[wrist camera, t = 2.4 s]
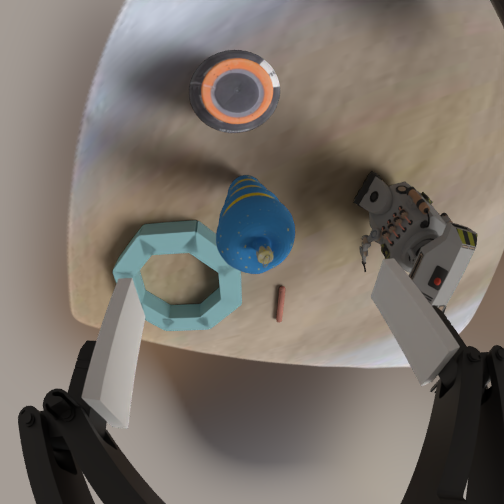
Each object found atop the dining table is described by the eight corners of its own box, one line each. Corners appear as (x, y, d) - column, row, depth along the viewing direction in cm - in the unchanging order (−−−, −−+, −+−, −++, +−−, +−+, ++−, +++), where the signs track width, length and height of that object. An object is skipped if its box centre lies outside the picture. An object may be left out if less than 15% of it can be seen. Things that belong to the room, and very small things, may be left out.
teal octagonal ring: (108, 227, 28) (101, 238, 26) (237, 217, 30) (239, 228, 28) (138, 318, 37) (135, 331, 35) (240, 313, 38) (242, 327, 36)
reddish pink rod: (278, 285, 36) (280, 289, 35) (284, 284, 36) (286, 288, 35) (275, 319, 40) (276, 323, 39) (281, 319, 40) (282, 323, 39)
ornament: (208, 190, 28) (203, 288, 15) (229, 146, 25) (240, 210, 13) (253, 208, 29) (282, 309, 17) (275, 166, 27) (327, 245, 15)
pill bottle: (255, 57, 20) (281, 35, 11) (267, 113, 24) (300, 131, 14) (192, 70, 21) (172, 56, 11) (206, 127, 24) (197, 152, 15)
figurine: (327, 239, 33) (382, 333, 20) (375, 158, 27) (468, 221, 15) (376, 259, 36) (431, 340, 23) (421, 191, 30) (499, 256, 18)
